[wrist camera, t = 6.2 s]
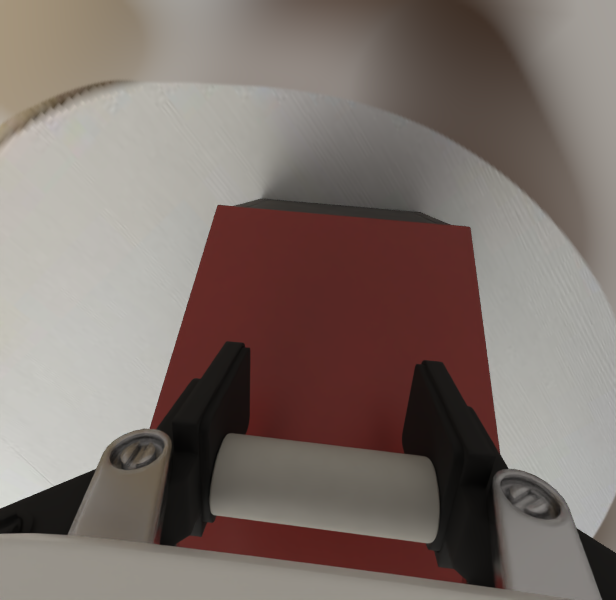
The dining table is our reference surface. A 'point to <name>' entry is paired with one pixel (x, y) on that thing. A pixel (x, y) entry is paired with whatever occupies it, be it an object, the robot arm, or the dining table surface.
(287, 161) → the dining table surface
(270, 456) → the bin lid
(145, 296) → the dining table surface
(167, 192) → the dining table surface
